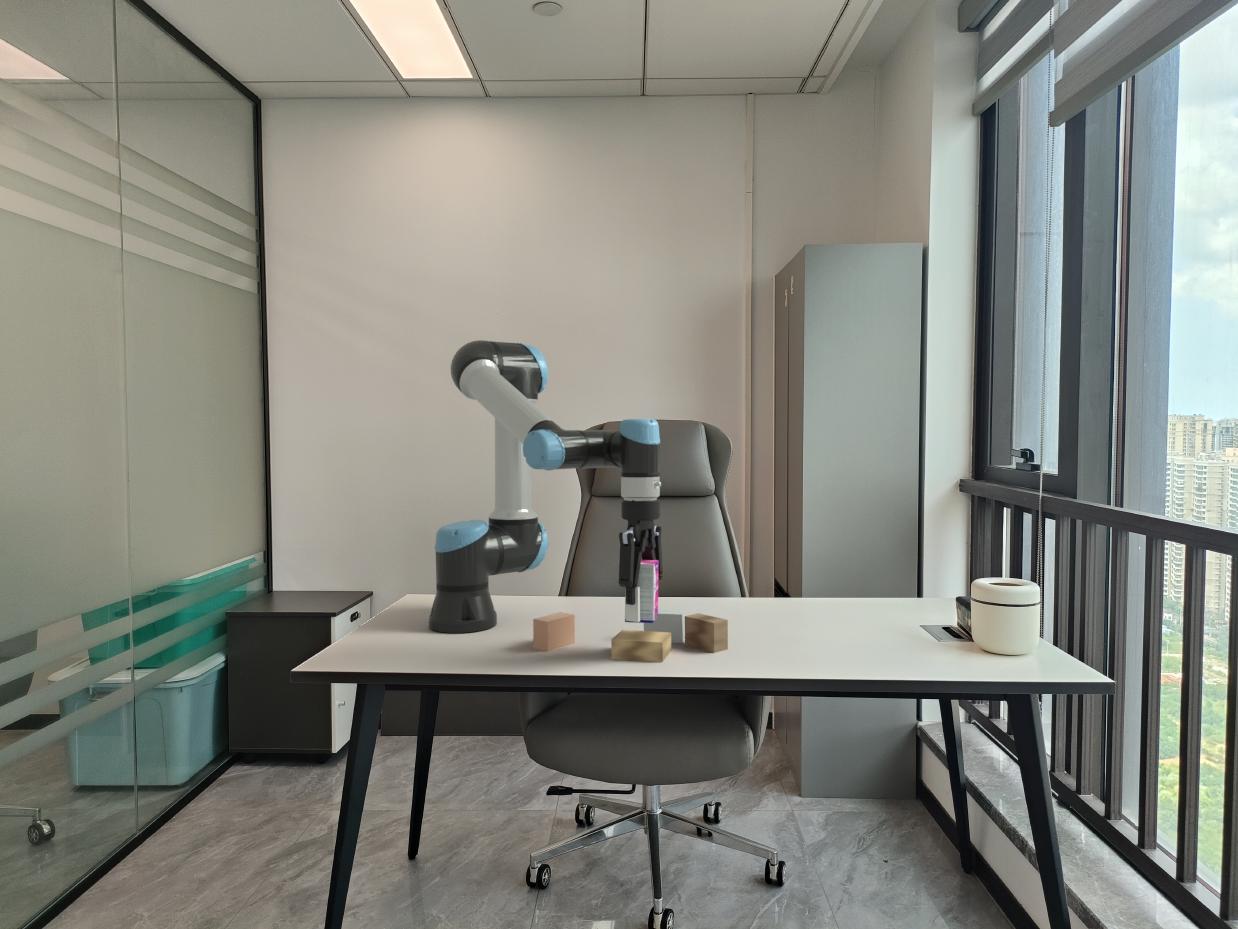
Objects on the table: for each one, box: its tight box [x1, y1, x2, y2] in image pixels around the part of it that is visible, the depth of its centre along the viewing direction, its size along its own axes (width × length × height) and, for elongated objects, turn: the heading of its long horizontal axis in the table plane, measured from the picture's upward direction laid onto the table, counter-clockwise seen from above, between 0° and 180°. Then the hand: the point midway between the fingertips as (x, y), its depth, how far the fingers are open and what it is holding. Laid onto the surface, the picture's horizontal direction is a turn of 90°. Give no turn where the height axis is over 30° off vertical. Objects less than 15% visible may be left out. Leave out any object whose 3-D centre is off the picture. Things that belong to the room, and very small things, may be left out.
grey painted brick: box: [643, 608, 686, 644], centre depth 163 cm, size 8×4×6 cm, turn 78°
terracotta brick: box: [532, 611, 576, 652], centre depth 159 cm, size 8×4×6 cm, turn 141°
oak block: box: [610, 629, 672, 663], centre depth 152 cm, size 10×8×4 cm
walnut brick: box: [684, 613, 729, 654], centre depth 157 cm, size 8×4×6 cm, turn 41°
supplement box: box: [624, 558, 659, 624], centre depth 151 cm, size 6×6×12 cm
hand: (641, 616), depth 151 cm, fingers closed on supplement box, 7 cm apart
